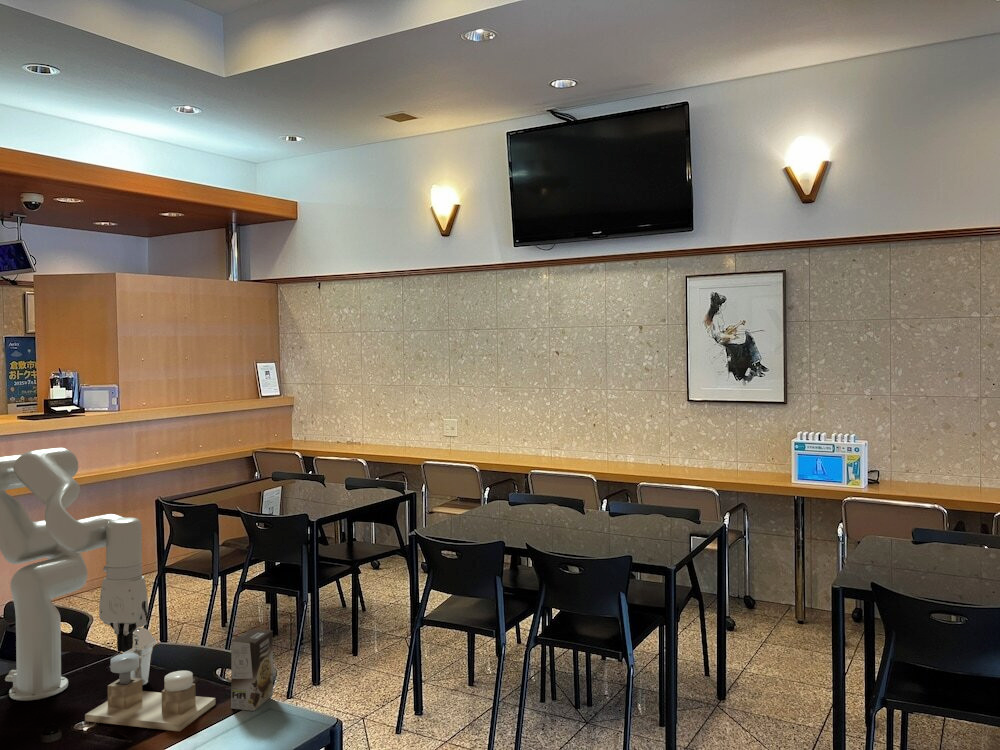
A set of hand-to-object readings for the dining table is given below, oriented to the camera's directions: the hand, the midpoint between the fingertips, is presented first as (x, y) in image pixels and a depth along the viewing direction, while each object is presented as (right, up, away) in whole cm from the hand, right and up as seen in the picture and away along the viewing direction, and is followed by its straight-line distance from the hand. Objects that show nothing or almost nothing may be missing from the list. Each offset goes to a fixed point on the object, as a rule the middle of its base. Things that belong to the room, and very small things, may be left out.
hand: (125, 649), depth 184 cm
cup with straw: (-4, -14, +15) cm, 21 cm away
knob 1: (0, -9, 0) cm, 9 cm away
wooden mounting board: (+7, -14, -1) cm, 16 cm away
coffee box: (+28, -14, +5) cm, 32 cm away
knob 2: (+14, -12, -3) cm, 19 cm away
